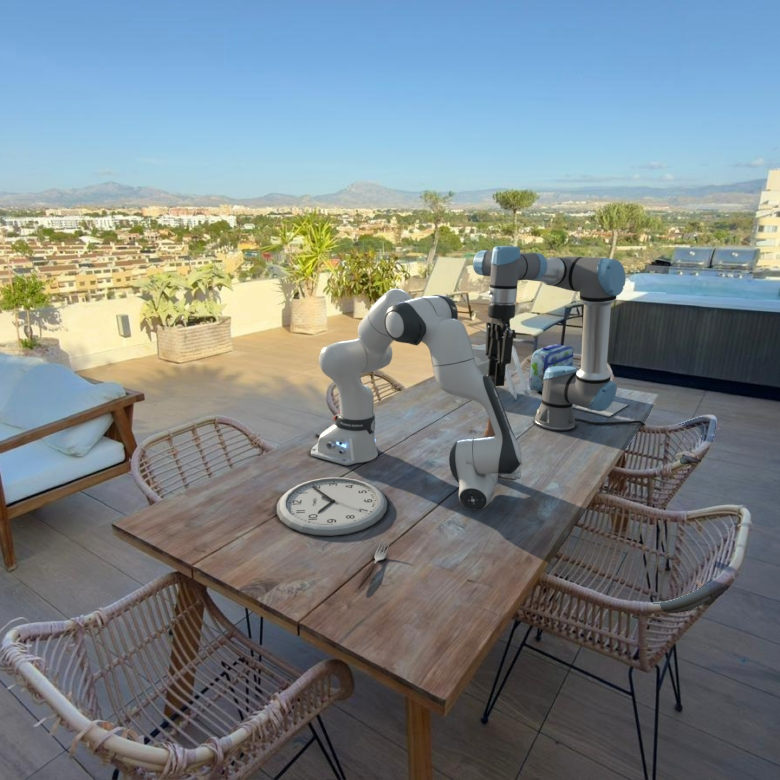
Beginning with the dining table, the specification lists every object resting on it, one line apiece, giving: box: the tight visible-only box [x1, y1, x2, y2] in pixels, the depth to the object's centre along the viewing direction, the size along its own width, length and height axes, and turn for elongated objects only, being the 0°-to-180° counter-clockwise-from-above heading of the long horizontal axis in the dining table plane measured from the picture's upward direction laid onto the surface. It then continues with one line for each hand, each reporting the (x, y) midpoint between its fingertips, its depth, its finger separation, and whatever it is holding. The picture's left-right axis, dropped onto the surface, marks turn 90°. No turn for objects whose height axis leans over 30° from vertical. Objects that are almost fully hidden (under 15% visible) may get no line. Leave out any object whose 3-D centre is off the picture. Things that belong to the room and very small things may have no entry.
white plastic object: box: [472, 337, 531, 400], centre depth 245 cm, size 37×45×31 cm
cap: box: [489, 375, 495, 384], centre depth 153 cm, size 4×4×2 cm
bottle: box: [483, 417, 495, 438], centre depth 159 cm, size 4×4×19 cm
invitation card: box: [573, 400, 629, 418], centre depth 226 cm, size 21×1×15 cm
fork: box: [357, 541, 391, 589], centre depth 116 cm, size 3×16×2 cm, turn 160°
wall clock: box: [276, 476, 388, 537], centre depth 142 cm, size 30×2×30 cm
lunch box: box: [528, 344, 574, 393], centre depth 247 cm, size 26×11×21 cm, turn 134°
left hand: (489, 455), depth 161 cm, fingers closed on bottle, 4 cm apart
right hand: (495, 383), depth 153 cm, fingers closed on cap, 4 cm apart
